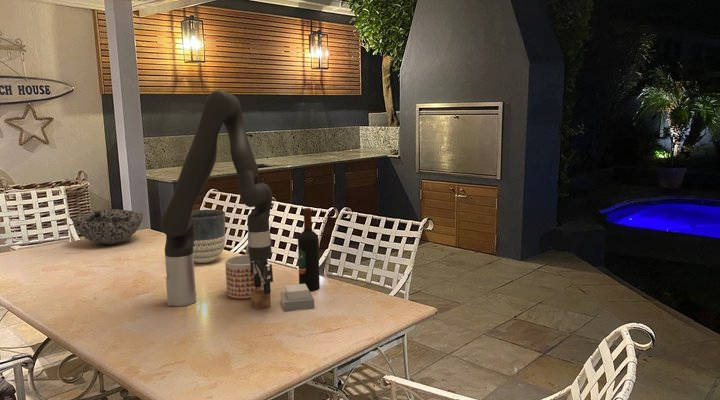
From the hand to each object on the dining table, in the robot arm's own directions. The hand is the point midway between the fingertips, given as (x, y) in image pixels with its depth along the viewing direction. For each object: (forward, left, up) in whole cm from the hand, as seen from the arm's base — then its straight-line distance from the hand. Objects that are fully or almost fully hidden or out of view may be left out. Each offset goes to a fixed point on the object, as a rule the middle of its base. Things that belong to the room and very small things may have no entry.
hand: (262, 290), depth 184 cm
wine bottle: (+18, +14, -6) cm, 23 cm away
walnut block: (-1, 0, -6) cm, 6 cm away
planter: (-20, +63, -6) cm, 66 cm away
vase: (-5, +15, -6) cm, 16 cm away
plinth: (+11, -2, -5) cm, 13 cm away
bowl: (-66, +112, -6) cm, 130 cm away
